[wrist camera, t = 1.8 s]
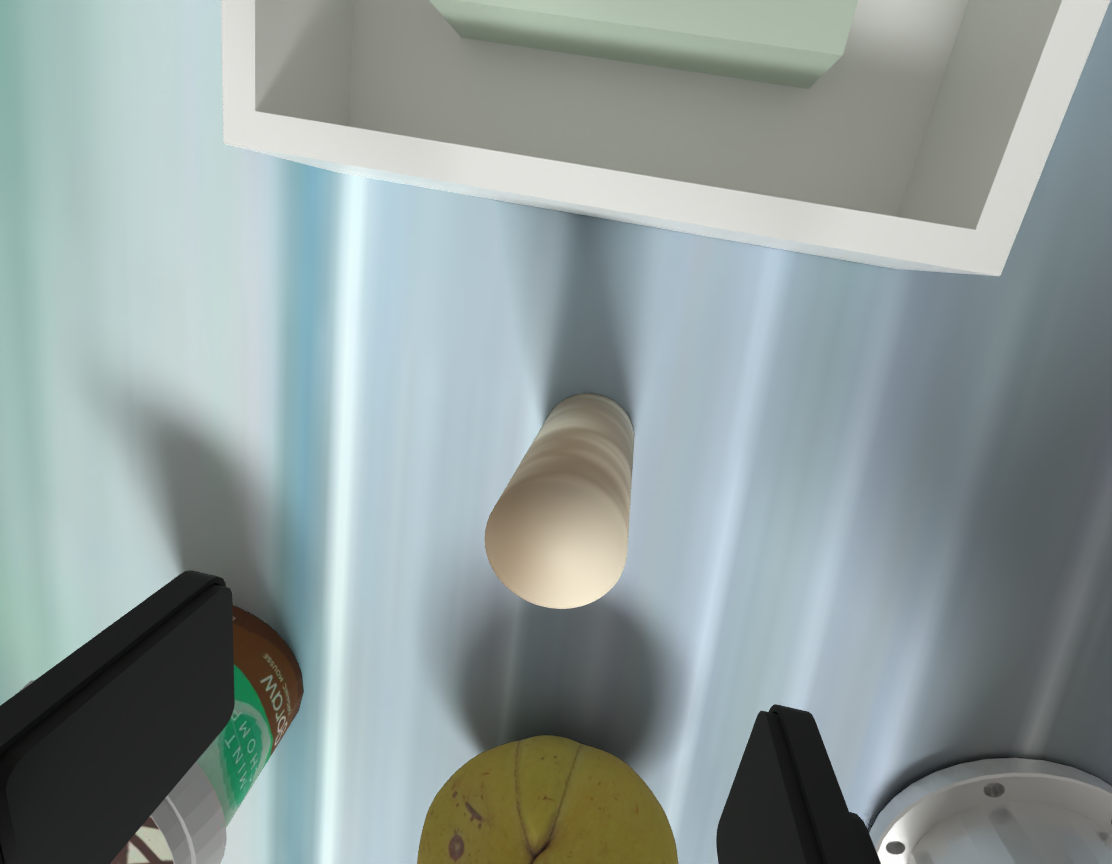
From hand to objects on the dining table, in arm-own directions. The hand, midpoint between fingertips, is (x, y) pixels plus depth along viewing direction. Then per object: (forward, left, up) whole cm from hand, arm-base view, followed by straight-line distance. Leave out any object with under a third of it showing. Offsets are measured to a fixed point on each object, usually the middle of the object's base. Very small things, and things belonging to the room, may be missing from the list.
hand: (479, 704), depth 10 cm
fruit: (-2, +19, -17) cm, 26 cm away
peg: (0, 0, -16) cm, 16 cm away
